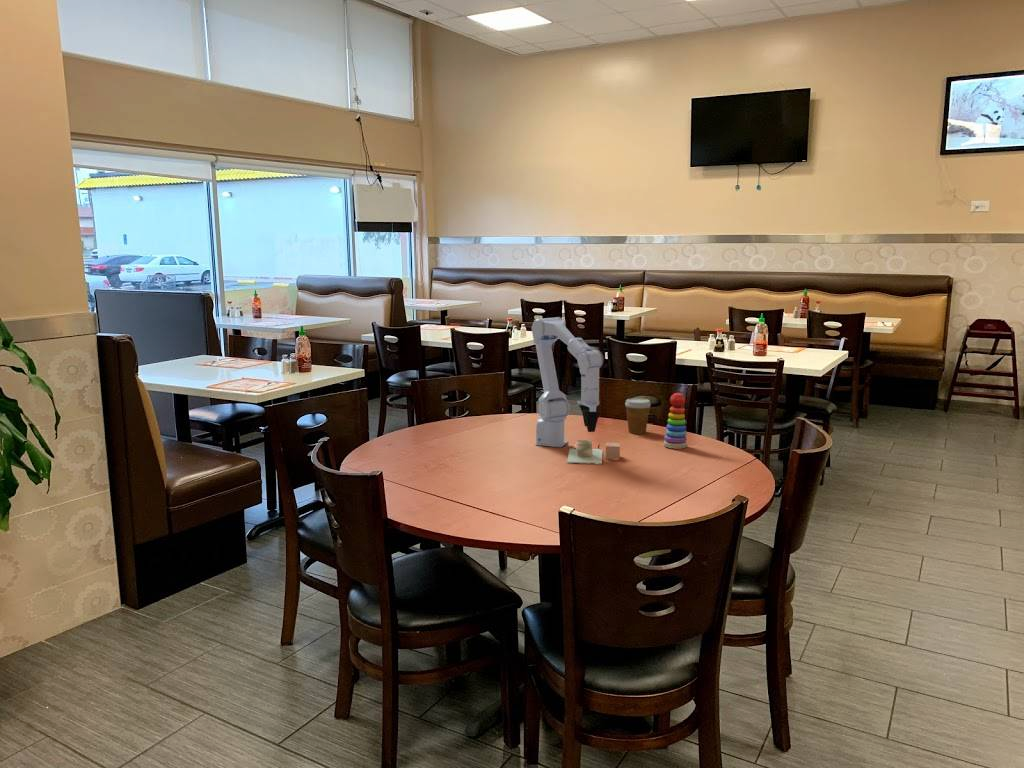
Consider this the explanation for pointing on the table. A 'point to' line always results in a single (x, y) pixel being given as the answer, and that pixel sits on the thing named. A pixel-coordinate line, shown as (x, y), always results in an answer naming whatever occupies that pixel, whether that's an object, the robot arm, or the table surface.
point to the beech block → (584, 448)
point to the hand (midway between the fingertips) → (589, 429)
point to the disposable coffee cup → (637, 414)
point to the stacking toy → (676, 424)
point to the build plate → (594, 459)
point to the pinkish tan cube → (612, 450)
